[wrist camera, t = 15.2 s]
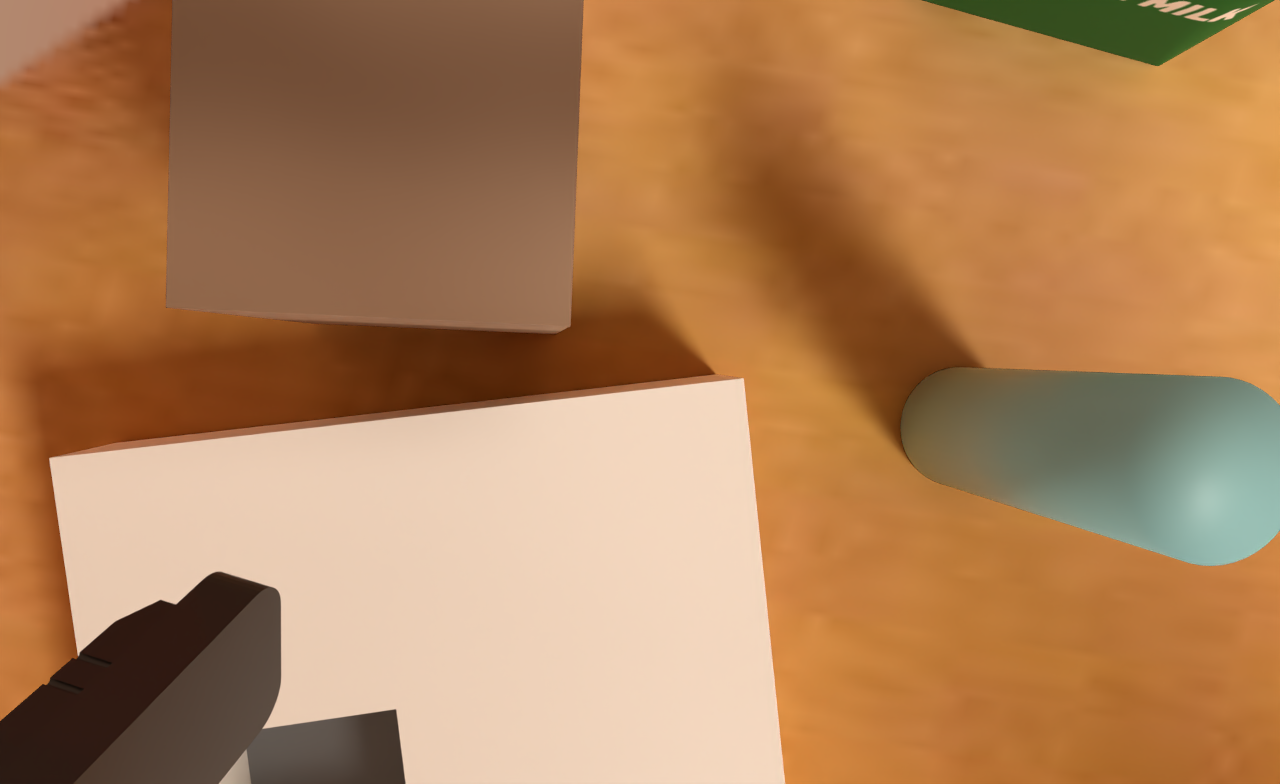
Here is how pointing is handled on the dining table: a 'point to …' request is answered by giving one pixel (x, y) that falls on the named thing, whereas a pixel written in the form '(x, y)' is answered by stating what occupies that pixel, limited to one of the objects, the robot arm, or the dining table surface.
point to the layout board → (466, 583)
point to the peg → (1109, 453)
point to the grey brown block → (375, 161)
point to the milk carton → (1118, 22)
